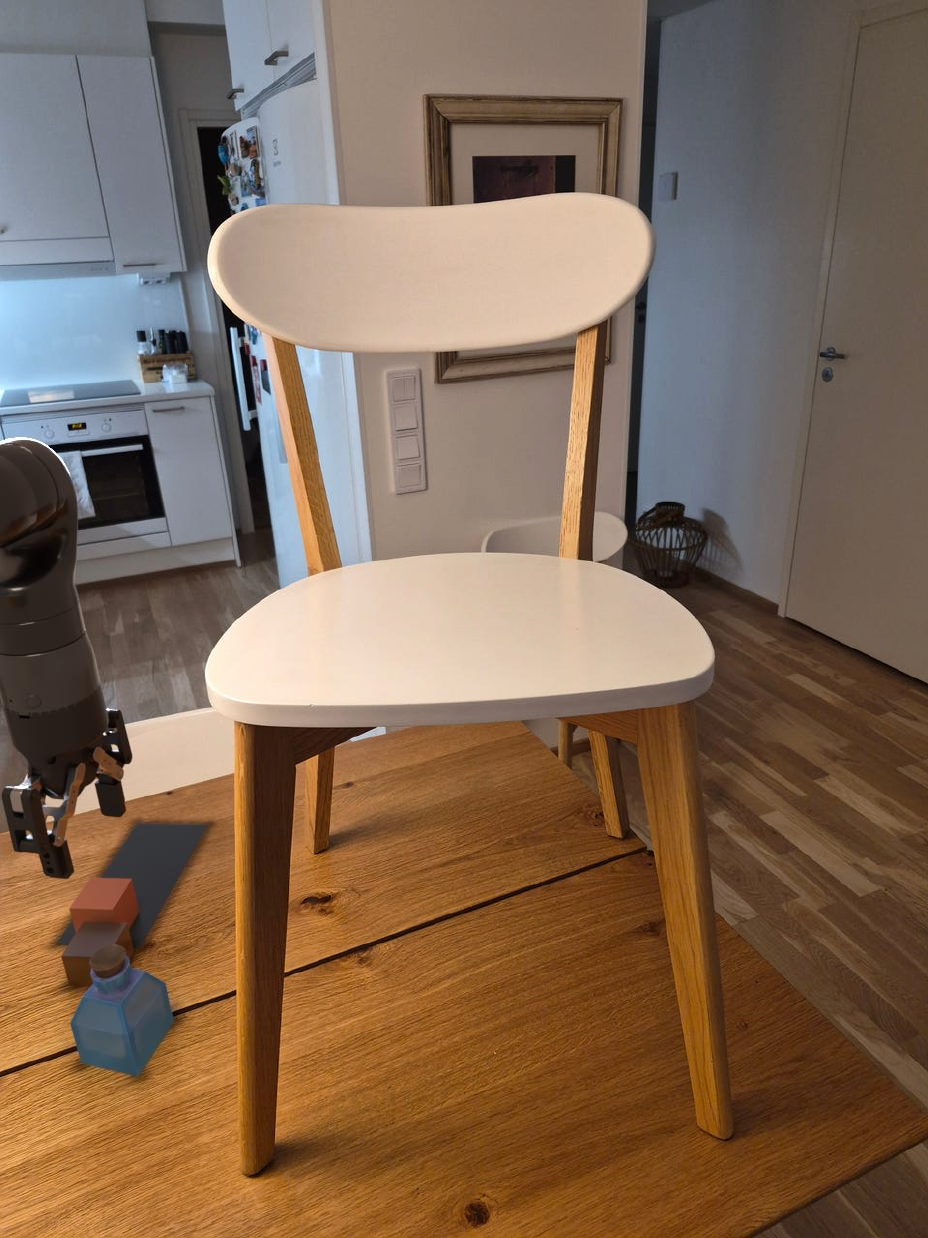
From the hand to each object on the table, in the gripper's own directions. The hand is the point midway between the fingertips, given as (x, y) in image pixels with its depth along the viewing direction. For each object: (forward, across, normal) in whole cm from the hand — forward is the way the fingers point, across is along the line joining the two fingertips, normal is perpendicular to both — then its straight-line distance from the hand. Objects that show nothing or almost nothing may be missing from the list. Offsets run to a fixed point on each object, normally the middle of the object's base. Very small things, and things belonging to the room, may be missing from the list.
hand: (89, 843), depth 75 cm
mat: (+23, -20, -10) cm, 32 cm away
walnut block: (+23, -6, -7) cm, 25 cm away
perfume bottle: (+23, +2, +1) cm, 24 cm away
